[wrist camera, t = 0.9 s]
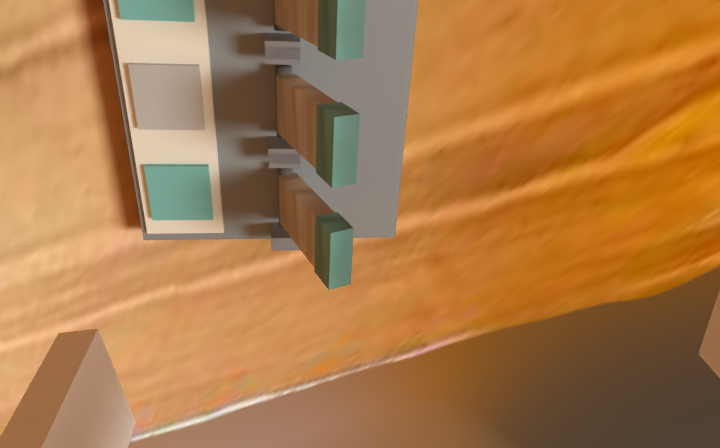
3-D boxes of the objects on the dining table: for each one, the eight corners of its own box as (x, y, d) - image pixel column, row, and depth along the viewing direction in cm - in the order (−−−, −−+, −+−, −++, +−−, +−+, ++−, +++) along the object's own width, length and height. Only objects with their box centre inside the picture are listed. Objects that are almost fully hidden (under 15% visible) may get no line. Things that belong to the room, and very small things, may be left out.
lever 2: (271, 134, 35) (331, 193, 28) (269, 65, 33) (334, 111, 26) (291, 131, 36) (355, 188, 29) (291, 63, 33) (360, 107, 27)
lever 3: (273, 222, 38) (328, 294, 32) (272, 164, 36) (330, 228, 29) (292, 218, 39) (350, 288, 32) (292, 161, 37) (353, 223, 30)
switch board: (150, 225, 41) (136, 257, 37) (96, -106, 30) (70, -107, 26) (390, 223, 43) (399, 253, 39) (419, -87, 32) (435, -85, 29)
